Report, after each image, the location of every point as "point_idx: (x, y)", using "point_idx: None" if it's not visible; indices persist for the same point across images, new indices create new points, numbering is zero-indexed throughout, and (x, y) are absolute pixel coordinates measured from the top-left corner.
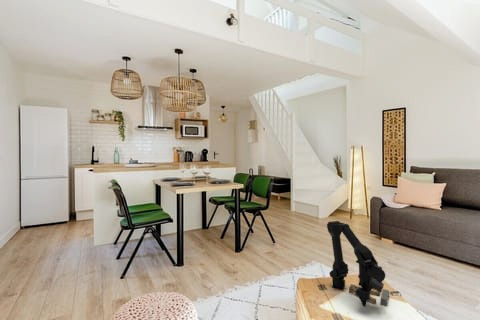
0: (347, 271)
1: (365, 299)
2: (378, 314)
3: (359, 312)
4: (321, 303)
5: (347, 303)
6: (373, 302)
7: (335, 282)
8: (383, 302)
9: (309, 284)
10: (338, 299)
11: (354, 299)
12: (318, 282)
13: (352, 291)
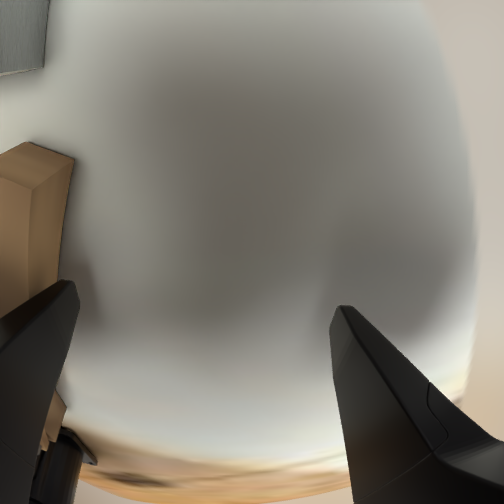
0: None
1: (453, 432)
2: (430, 91)
3: (427, 323)
4: (337, 472)
5: (272, 417)
6: (60, 189)
7: (76, 486)
8: (11, 17)
9: (154, 497)
10: (235, 451)
11: (141, 385)
12: (100, 480)
13: None
